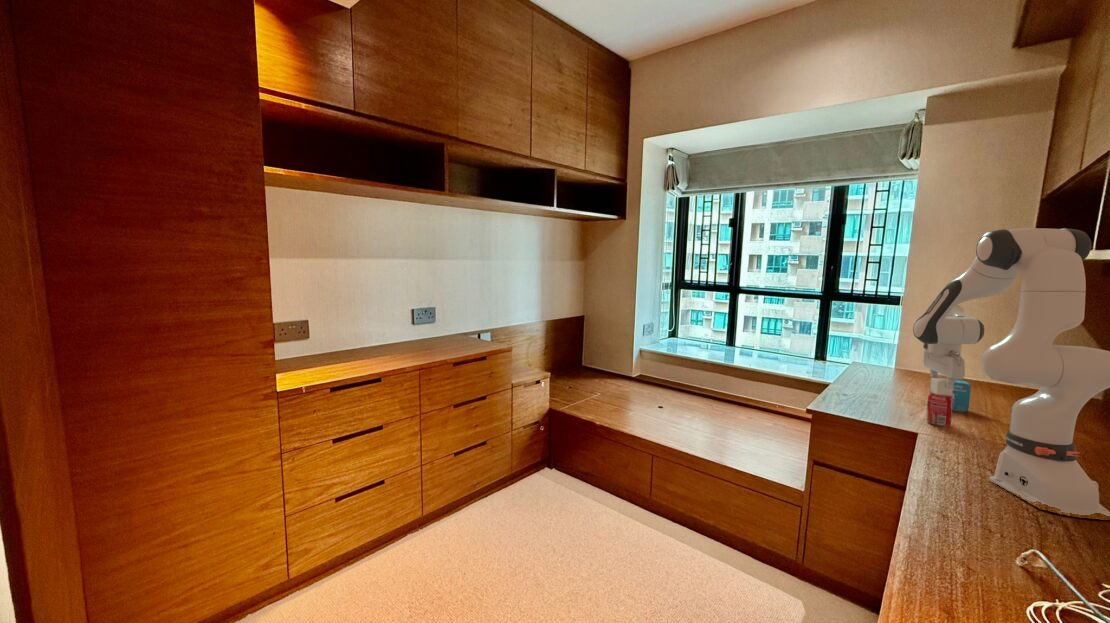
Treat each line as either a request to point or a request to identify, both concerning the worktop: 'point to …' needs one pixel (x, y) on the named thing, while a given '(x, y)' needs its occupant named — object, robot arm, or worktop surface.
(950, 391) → the cream block
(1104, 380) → the robot arm
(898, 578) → the worktop surface
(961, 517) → the worktop surface
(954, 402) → the data package
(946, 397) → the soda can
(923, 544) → the worktop surface
